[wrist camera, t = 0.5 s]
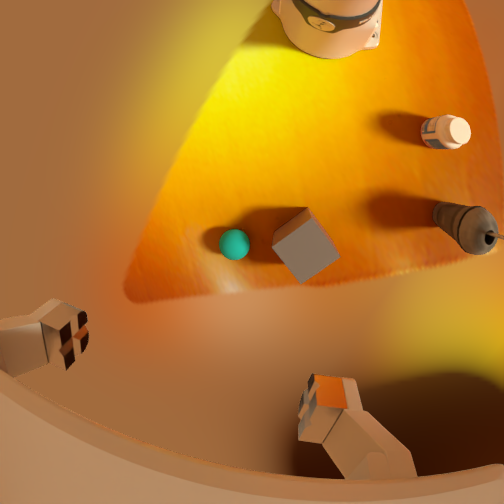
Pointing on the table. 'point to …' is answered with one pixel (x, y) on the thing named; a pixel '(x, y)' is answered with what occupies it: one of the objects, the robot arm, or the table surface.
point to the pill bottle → (445, 132)
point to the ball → (234, 244)
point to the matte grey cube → (304, 246)
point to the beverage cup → (468, 226)
